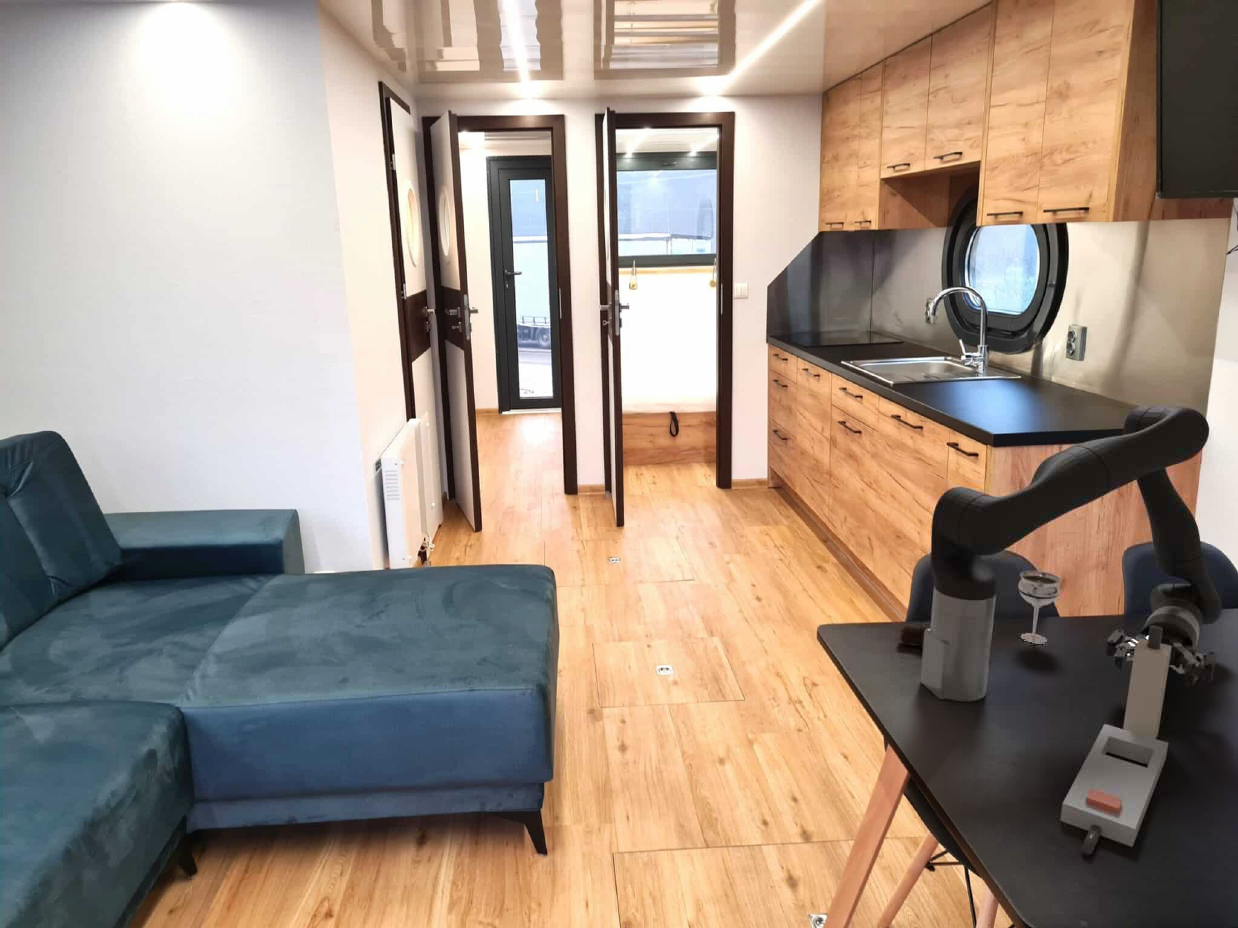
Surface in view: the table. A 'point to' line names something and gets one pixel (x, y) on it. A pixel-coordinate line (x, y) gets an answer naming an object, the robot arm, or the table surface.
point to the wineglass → (1038, 596)
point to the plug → (1147, 684)
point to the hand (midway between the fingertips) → (1152, 671)
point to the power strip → (1114, 787)
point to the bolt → (916, 634)
